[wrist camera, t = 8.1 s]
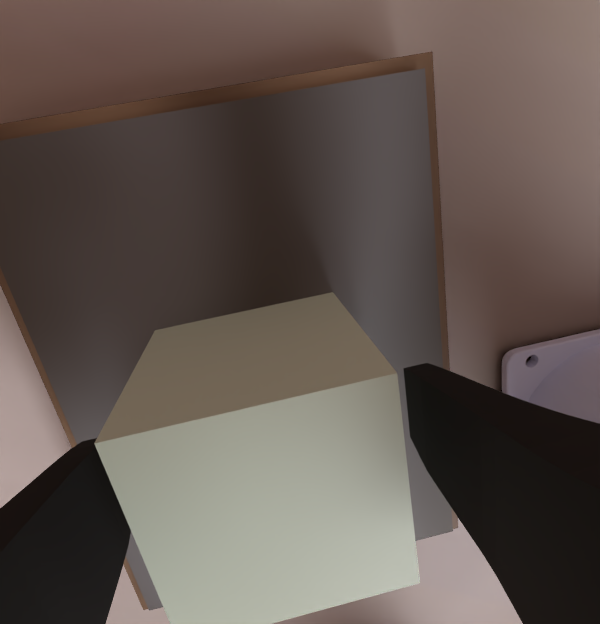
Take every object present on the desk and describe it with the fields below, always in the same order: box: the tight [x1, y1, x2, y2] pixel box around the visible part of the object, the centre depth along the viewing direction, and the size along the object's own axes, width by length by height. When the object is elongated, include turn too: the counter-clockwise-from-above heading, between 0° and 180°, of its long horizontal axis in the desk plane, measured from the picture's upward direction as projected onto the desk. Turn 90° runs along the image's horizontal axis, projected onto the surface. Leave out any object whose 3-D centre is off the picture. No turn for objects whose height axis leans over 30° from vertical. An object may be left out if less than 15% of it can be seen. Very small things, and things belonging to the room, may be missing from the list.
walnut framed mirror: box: [0, 52, 458, 610], centre depth 13 cm, size 12×16×2 cm
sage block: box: [94, 292, 420, 624], centre depth 10 cm, size 5×5×5 cm
